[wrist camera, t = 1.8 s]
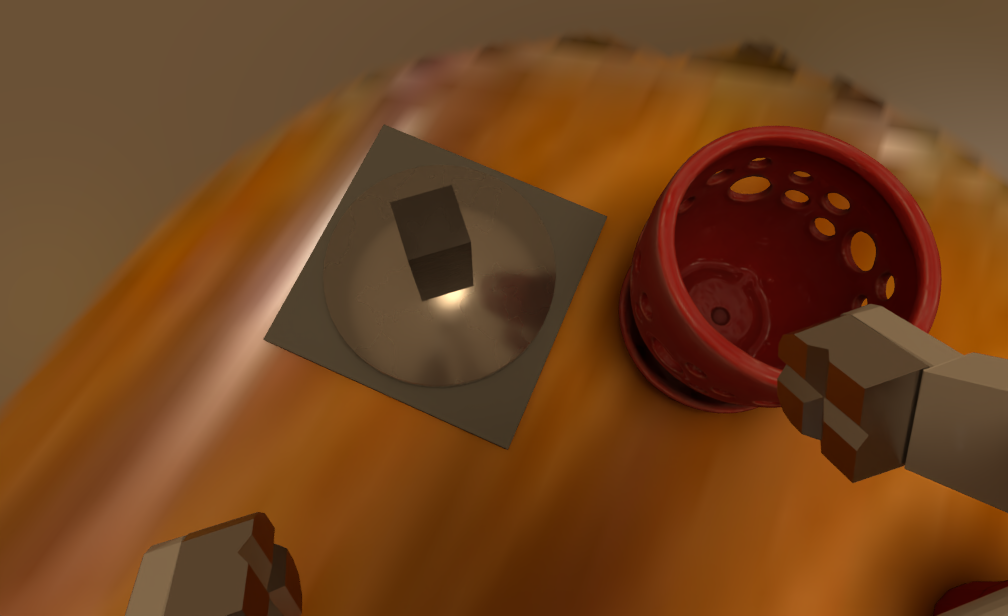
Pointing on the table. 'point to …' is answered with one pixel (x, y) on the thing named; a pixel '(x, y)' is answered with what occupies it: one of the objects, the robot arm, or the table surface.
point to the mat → (469, 407)
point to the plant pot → (766, 263)
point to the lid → (439, 276)
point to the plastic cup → (966, 594)
